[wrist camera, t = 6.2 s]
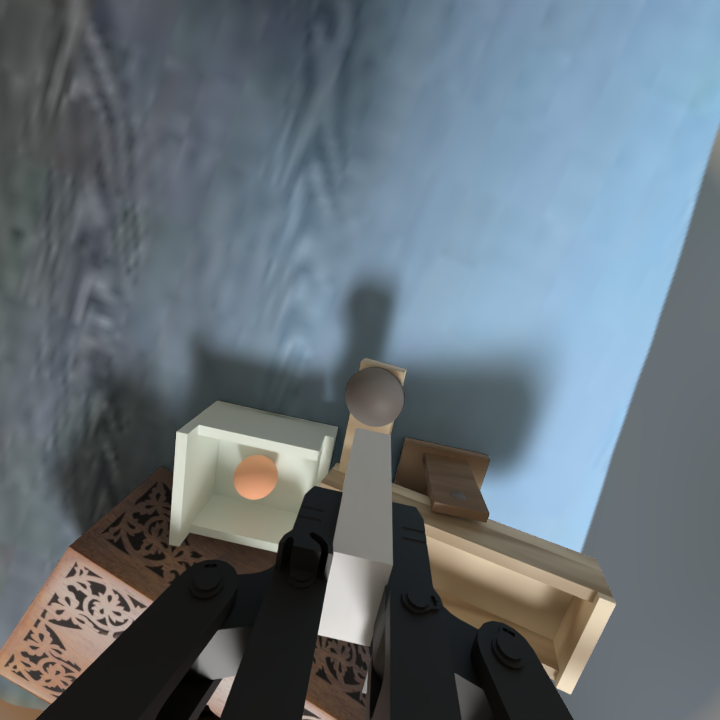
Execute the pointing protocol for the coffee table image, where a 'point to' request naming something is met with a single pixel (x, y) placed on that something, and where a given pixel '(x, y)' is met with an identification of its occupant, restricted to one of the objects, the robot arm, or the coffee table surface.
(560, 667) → the lever
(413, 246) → the coffee table surface
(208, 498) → the bin
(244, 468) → the ball
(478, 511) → the fulcrum
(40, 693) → the tissue box cover
